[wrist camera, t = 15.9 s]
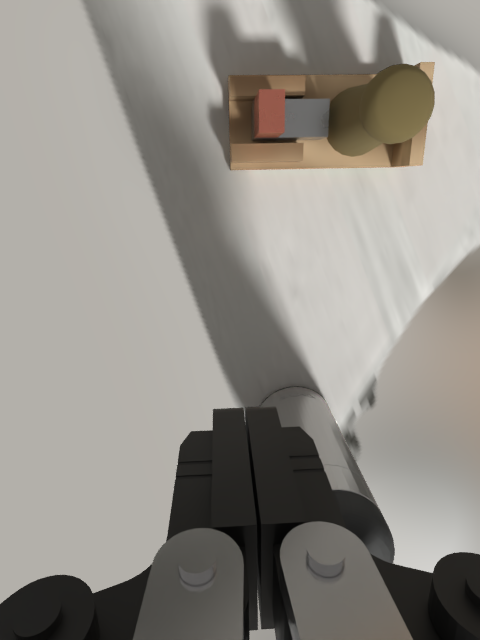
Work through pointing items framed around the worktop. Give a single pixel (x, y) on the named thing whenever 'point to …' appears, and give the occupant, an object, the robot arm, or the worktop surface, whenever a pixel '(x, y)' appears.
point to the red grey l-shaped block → (288, 117)
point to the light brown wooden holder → (307, 151)
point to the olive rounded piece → (381, 110)
